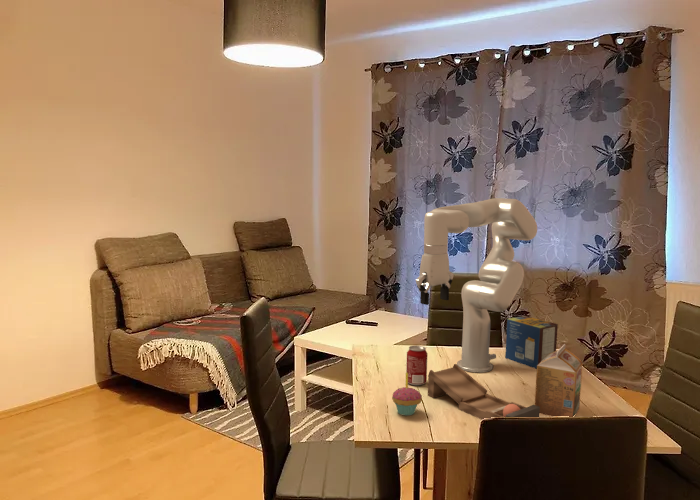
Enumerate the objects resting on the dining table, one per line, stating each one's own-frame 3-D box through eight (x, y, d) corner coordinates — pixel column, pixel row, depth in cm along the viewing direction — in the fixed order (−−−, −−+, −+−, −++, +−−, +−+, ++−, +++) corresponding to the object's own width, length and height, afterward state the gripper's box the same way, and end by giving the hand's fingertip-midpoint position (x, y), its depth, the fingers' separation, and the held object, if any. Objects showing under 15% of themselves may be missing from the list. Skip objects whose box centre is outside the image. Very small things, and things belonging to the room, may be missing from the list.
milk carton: (572, 420, 160) (576, 355, 158) (534, 412, 166) (538, 348, 163) (579, 408, 169) (583, 346, 167) (542, 400, 175) (546, 340, 172)
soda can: (425, 387, 184) (426, 351, 182) (404, 385, 185) (405, 350, 184) (427, 380, 190) (428, 345, 189) (406, 378, 192) (408, 344, 190)
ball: (510, 400, 162) (525, 404, 158) (510, 417, 162) (525, 422, 158) (499, 404, 159) (514, 408, 155) (499, 421, 159) (514, 426, 155)
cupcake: (389, 406, 168) (390, 367, 166) (418, 406, 168) (419, 367, 167) (394, 418, 159) (395, 377, 158) (424, 418, 160) (425, 377, 158)
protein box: (522, 354, 223) (524, 315, 221) (555, 364, 210) (558, 324, 208) (504, 358, 217) (506, 318, 215) (537, 369, 204) (540, 327, 202)
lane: (426, 395, 177) (427, 369, 176) (453, 387, 184) (454, 362, 183) (511, 433, 151) (512, 403, 150) (538, 422, 159) (540, 393, 158)
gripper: (444, 246, 191) (443, 296, 194) (408, 251, 180) (408, 303, 183) (462, 248, 186) (460, 299, 188) (426, 253, 175) (425, 308, 177)
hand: (434, 301), depth 185 cm, fingers open, 9 cm apart
